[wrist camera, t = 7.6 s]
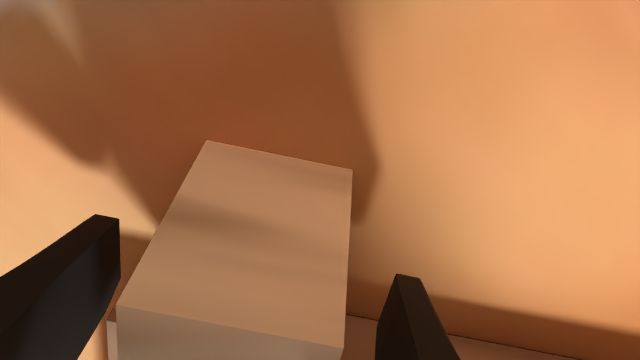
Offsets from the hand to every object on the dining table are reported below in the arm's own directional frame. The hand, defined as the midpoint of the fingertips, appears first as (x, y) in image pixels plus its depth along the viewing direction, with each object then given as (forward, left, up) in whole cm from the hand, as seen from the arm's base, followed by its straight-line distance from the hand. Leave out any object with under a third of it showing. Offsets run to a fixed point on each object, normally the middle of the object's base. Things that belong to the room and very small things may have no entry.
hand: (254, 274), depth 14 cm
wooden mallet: (-4, 0, -2) cm, 5 cm away
